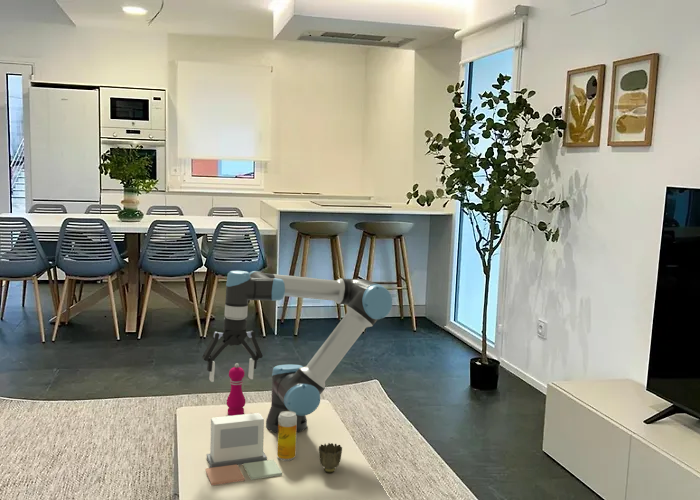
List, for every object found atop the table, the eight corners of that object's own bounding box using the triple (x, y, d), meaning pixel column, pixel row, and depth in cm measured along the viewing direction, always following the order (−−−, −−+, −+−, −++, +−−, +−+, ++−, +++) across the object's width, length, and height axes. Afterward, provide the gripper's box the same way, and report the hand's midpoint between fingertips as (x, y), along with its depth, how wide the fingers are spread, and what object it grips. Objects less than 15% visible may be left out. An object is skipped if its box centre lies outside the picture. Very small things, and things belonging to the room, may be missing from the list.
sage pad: (273, 461, 214) (273, 459, 214) (282, 475, 205) (282, 472, 205) (243, 465, 210) (243, 463, 210) (250, 479, 201) (250, 477, 201)
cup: (318, 465, 212) (319, 441, 212) (341, 466, 212) (342, 443, 211) (317, 476, 205) (318, 451, 204) (340, 477, 205) (341, 452, 204)
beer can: (274, 454, 219) (276, 411, 218) (292, 452, 222) (293, 409, 220) (280, 462, 214) (281, 418, 212) (298, 459, 216) (299, 415, 214)
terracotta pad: (237, 466, 209) (237, 464, 209) (244, 480, 200) (244, 478, 200) (205, 470, 205) (205, 468, 205) (211, 485, 196) (211, 482, 196)
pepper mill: (241, 417, 251) (242, 366, 249) (223, 415, 252) (224, 364, 250) (247, 411, 258) (249, 361, 256) (230, 409, 259) (231, 359, 257)
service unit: (260, 451, 221) (261, 411, 220) (266, 461, 214) (267, 419, 212) (206, 458, 214) (207, 417, 213) (211, 468, 207) (212, 426, 206)
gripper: (266, 314, 228) (262, 374, 230) (195, 315, 216) (191, 378, 218) (274, 319, 221) (270, 380, 223) (201, 320, 209) (197, 385, 211)
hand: (231, 379), depth 221 cm, fingers open, 13 cm apart
